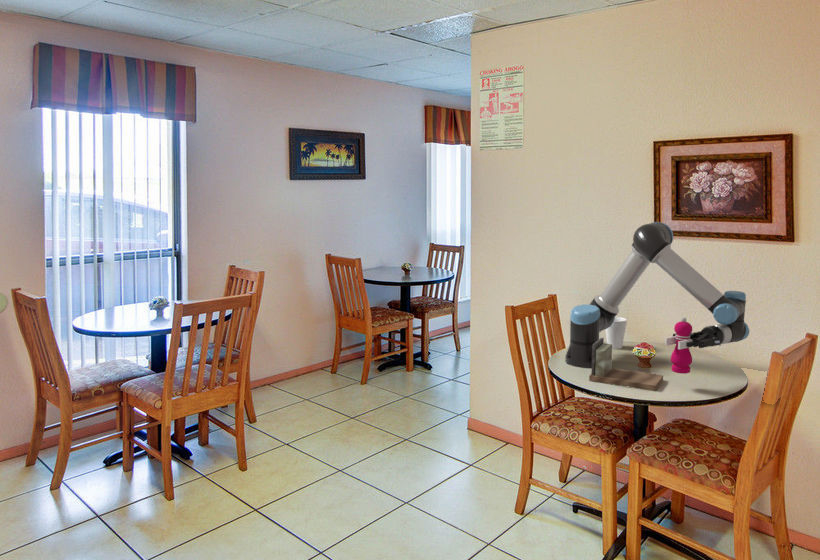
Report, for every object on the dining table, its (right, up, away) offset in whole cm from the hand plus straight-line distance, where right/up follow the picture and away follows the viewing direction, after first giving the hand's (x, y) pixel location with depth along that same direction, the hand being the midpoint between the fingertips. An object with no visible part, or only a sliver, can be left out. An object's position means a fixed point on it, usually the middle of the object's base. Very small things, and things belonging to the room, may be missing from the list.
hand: (672, 343), depth 227 cm
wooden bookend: (-12, -15, +14) cm, 24 cm away
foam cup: (-1, -8, +61) cm, 62 cm away
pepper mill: (+5, -11, +4) cm, 12 cm away
